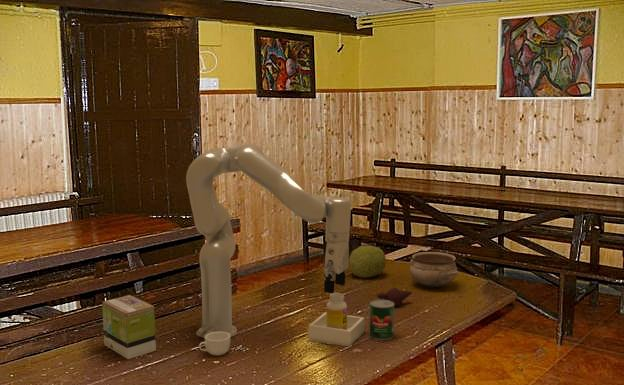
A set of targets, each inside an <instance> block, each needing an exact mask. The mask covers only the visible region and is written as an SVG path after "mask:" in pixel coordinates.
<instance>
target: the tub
mask: <svg viewBox="0 0 624 385" xmlns="http://www.w3.org/2000/svg"><path fill="white" fill-rule="evenodd" d="M365 322H366V320H365V317H362V316H356V315H355V316H354V315H348V314H347V330H344V329H337V328H330V327H327V311H325V312H323V313H322V314H321V315H320V316H318V317H317V318H316V319H314V321H313V322H311V323H310V324H308V341H309V342H315V343H320V344H321V343H323V344H327V345H328V344H329V345H335V346H340V345H341V346H342V347H346V346H347V347H349V348H351V347H352V346H353V345H354V344H355V342H357V341H358V340H359V338H360V337H362V335H363V334H364V333H365ZM353 343H354V344H353ZM352 344H353V345H352Z"/></svg>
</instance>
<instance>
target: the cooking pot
mask: <svg viewBox="0 0 624 385" xmlns="http://www.w3.org/2000/svg"><path fill="white" fill-rule="evenodd" d="M411 257H412V258H411V259H410V266H409V272H410V274H411V277H412V279H414V280H415V281H416V282H417V283H418V284H420V285H422V286H424V287H425V288H427V289H433V288H436V289H440V287H441V288H442V287H444V286H446V285H448V284H450V283H452V282H453V281H454V280H455V279H456V277H457V275H458V274H459V271H458V268H457V264H456V263H457V262H456V261H455V260H456V259H457V258H456V256H455V255H453V254H450V253H445V252H437V251H422V252H417V253H414V254H412V255H411Z"/></svg>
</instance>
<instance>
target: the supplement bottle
mask: <svg viewBox="0 0 624 385" xmlns="http://www.w3.org/2000/svg"><path fill="white" fill-rule="evenodd" d="M344 300H345V294H344V293H341V292H334V293H329V301H328V302H327V303H326V312H327V327H330V328H337V329H344V330H347V315H348V305H347V302H345V301H344Z"/></svg>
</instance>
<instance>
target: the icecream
mask: <svg viewBox="0 0 624 385" xmlns="http://www.w3.org/2000/svg"><path fill="white" fill-rule="evenodd" d="M412 294H413V292H412V291H411V290H410V291H409V290H401V289H398V288H396V287H395V286H394V287H393V288H390V289H388V290H387V292H383V291H382V292H379V293H378V294H377V298H378V300H389V301H392V302H394V307H397V306H398V307H400V306H401V305H402V304H403V301H405V300H406V299H407V298H408V297H410V295H412Z"/></svg>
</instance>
